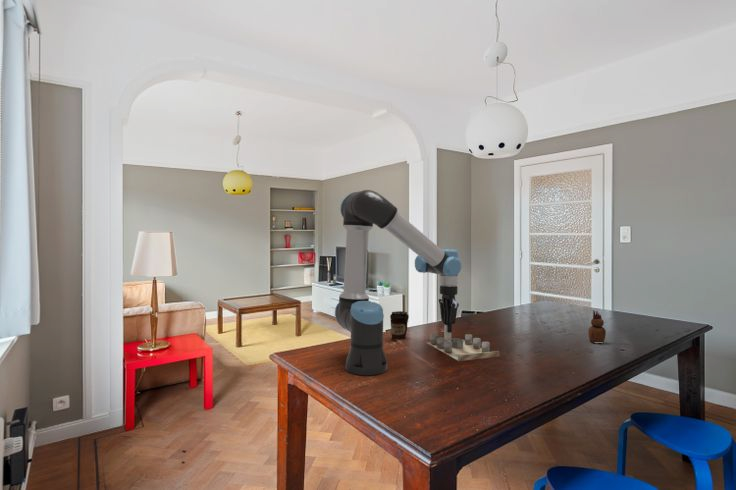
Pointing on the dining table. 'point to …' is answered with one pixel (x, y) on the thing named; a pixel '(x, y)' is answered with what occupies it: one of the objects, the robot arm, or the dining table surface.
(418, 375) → the dining table surface
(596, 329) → the wooden figurine
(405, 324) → the coffee cup
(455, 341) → the nut
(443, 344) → the board
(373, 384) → the dining table surface
